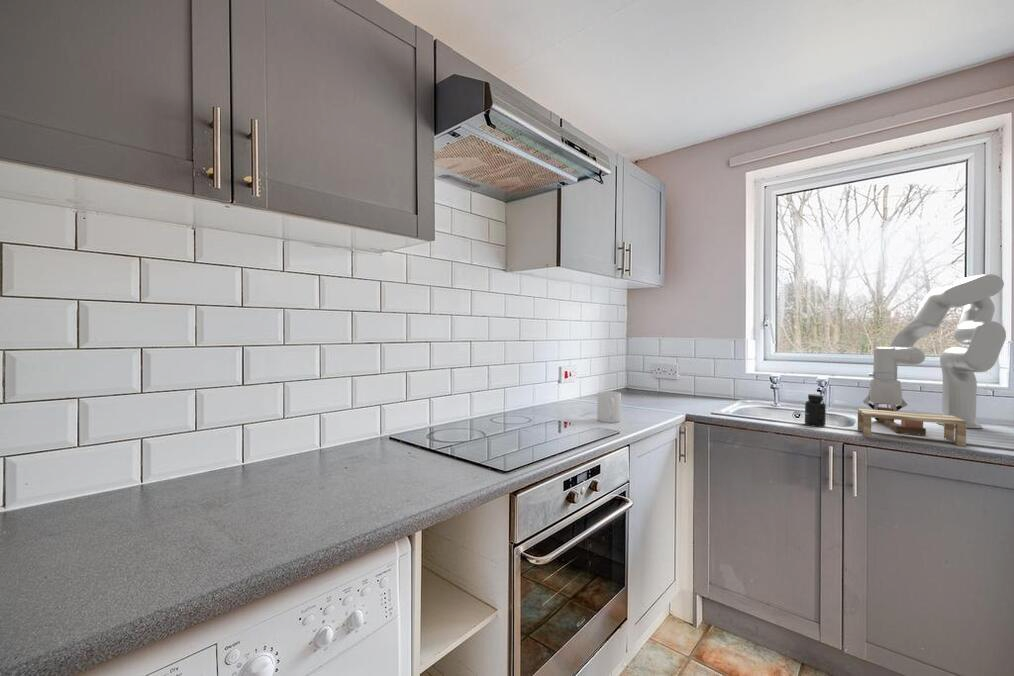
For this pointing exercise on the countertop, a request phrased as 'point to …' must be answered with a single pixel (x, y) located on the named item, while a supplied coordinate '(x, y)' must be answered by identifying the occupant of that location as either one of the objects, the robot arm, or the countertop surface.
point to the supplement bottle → (815, 410)
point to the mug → (609, 407)
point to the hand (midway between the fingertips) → (884, 420)
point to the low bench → (948, 420)
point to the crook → (897, 427)
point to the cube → (912, 423)
